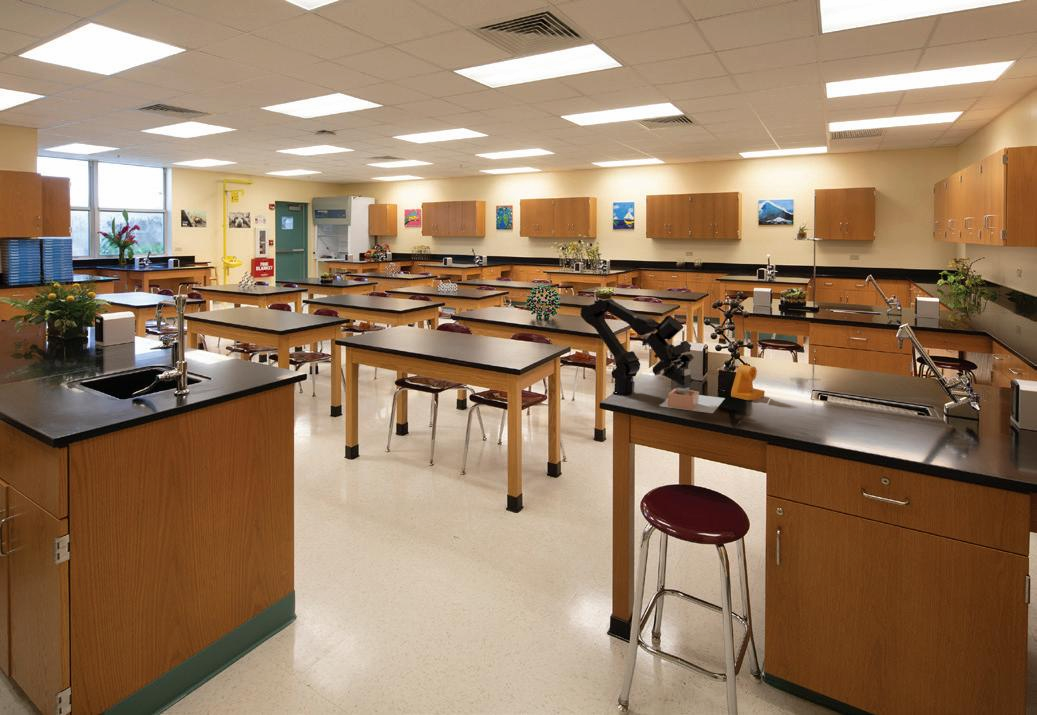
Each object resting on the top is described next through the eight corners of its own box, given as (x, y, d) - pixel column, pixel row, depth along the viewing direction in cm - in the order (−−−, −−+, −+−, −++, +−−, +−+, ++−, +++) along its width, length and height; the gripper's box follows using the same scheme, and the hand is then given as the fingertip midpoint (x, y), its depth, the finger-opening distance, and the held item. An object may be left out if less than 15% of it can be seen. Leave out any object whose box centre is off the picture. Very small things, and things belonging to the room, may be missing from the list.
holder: (667, 406, 204) (668, 393, 203) (673, 400, 211) (674, 388, 210) (692, 409, 200) (693, 396, 199) (698, 403, 207) (699, 391, 206)
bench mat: (658, 406, 204) (658, 405, 204) (675, 393, 223) (675, 392, 223) (712, 414, 196) (712, 413, 196) (725, 399, 215) (725, 398, 215)
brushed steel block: (673, 403, 206) (675, 368, 203) (681, 401, 208) (683, 366, 206) (684, 406, 202) (686, 370, 200) (692, 403, 205) (693, 368, 202)
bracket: (748, 402, 210) (751, 369, 208) (730, 398, 216) (733, 366, 214) (765, 398, 217) (767, 366, 215) (747, 394, 222) (749, 362, 220)
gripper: (661, 336, 197) (689, 374, 191) (690, 330, 210) (717, 366, 204) (640, 356, 204) (667, 393, 198) (669, 349, 217) (695, 384, 211)
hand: (687, 383), depth 203 cm, fingers open, 4 cm apart
